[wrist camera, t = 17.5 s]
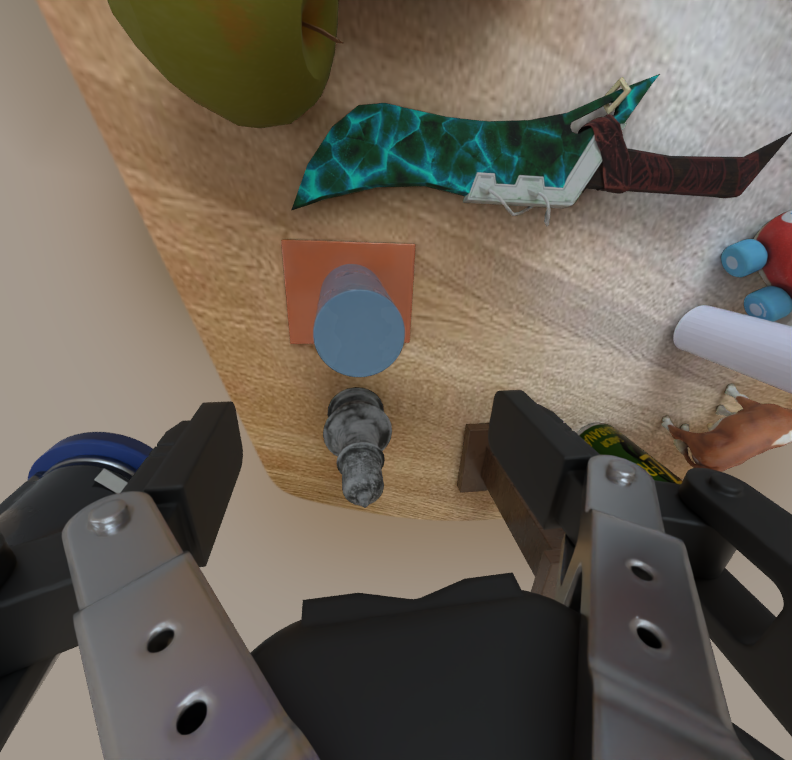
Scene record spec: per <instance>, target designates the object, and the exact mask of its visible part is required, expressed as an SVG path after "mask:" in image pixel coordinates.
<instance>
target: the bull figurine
mask: <svg viewBox="0 0 792 760" xmlns="http://www.w3.org/2000/svg"><path fill="white" fill-rule="evenodd" d="M725 394H727V395H730V396H733V397H734V398H735V400H736V402H738V403H739V404H740V405H741V406H742V407H743V409H741V410H739V411H738V412H737V413H732V412H729V411H728V410H727V409H726V408H725V407H724V405H719V406H718V407H717V410H716V411H717V412H716V414H717V415H725V416H726V417H724V418H722V419H720V420H718V421H717V422H716V423H715V424H712V423H709V424H707V426H708V430H709V431H708V432H705V433H692V432H689V425H688V424H683V425H682V426H681V429H679V428H677V427H675V426H674V425H673V424H672V422H671V420H670V417H669V416H665V417H664V418H663V419H662V421H663V422H664V423H662V426H663V427H665V428H666V429H667V430H668V431H669V432H670V433H671V434H672V437H673V438H675V439H674V443H673V444H674V445H675V446H676V448H677V449H678V450H679V452H680V453H681V454H683V455H684V456H685V459H686V461H687V462H688V463H689V464H690V465H691V466H692V467H694V468H708V469H713V470H717V471H720V472H722V471H725V470H727V469H729V468H731V467H734V466H737V465H740V464H742V463H744V462H745V461H747V460H748V459H750V458H752V457H754V456H756V455H758V454H761V453H763V452H765V451H767V450H769V449H773V448H777V447H781V446H784V445H786V444H788V443H790V442H792V409H786V408H782V407H780V406H778V405H775V404H760V403H758V402H755V401H752V400H750V399H748V397H747V396H745V395H742V394H740V393H739V392H738V391H737V390H736V387H735V385H734V384H729V385H728V386H727V389H726V392H725ZM681 440H682V441H683V442H682V441H681ZM688 447H689V448H690V451H691V453H692V458H693V460H694V462H695V463H696V464H695V463H694V462H693V461H691V459H690V457H689V456H688Z"/></svg>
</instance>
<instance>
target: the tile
mask: <svg viewBox="0 0 792 760" xmlns="http://www.w3.org/2000/svg"><path fill="white" fill-rule="evenodd" d="M281 244H282V255H283V266H284V277H285V288H286V300H287V311H288V322H289V333H290V343H291V344H314V338H313V328H314V322H315V317H316V312H317V307H318V302H319V297H320V292H321V287H322V284H323V282H324V280H325V278H326V277H327V275H328V274H329V273H330V272H331V271H332V270H334V269H335V268H337V267H339V266H342V265H346V264H357V265H361V266H364V267H366V268H368V269H369V270H371V271H372V272H373V273H374V274H375V275H376V276H377V277H378V279H379V280H380V282H381V283H382V285H383V287H384V288H385V290H386V291H387V293H388V295H389V296H390V298H391V299H392V301H393V303H394V304H395V306H396V307H397V309H398V311H399V312H400V314H401V316H402V318H403V322H404V326H405V340H404V343H409V342H410V327H411V310H412V294H413V278H414V262H415V246H416V245H415V244H409V243H380V242H350V241H321V240H292V239H282V240H281Z"/></svg>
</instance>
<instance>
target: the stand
mask: <svg viewBox="0 0 792 760" xmlns="http://www.w3.org/2000/svg"><path fill="white" fill-rule="evenodd" d="M489 424H490V423H483V424H466V429H465V436H464V442H463V449H462V456H461V463H460V469H459V476H458V483H457V486H458V488H459V490H460V492H474V491H486V490H488V491H489V493H490V495H491V497H492V498H493V500H494V502H495V504H496V506H497V508H498V510H499V511H500V513H501V515H502V517H503V519H504V520H505V522H506V524H507V526H508V528H509V530H510V531H511V533H512V535H513V537H514V539H515V540H516V542H517V544H518V546H519V548H520V550H521V552H522V553H523V555H524V557H525V559H526V561H527V563H528V564H529V566H530V568H531V570H532V572H533V574H534V575H535V580H534V583H533V586H532V590H531V592H533V593H537V594H540V595H543V596H546V597H548V598H551V599H553V600H555V593H556V585H557V577H558V569H559V561H560V553H561V545H562V540H563V537H564V534H565V532H564V530H563V529H562V528H556V529H547V530H544V529H543V528H542V526H541V525H540V523H539V522H538V520H537V519H536V517H535V516H534V514H533V513H532V511H531V510H530V508H529V507H528V505H527V504H526V502H525V501H524V499H523V498H522V496H521V495H520V493H519V492H518V490H517V489H516V487H515V486H514V484H513V483H512V481H511V480H510V478H509V477H508V475H507V474H506V472H505V471H504V469H503V468H502V466H501V465H500V463H499V462H498V460H497V459H496V457H495V456H494V454H493V453H492V451H491V449H490V446H489V442H488V429H489Z"/></svg>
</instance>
